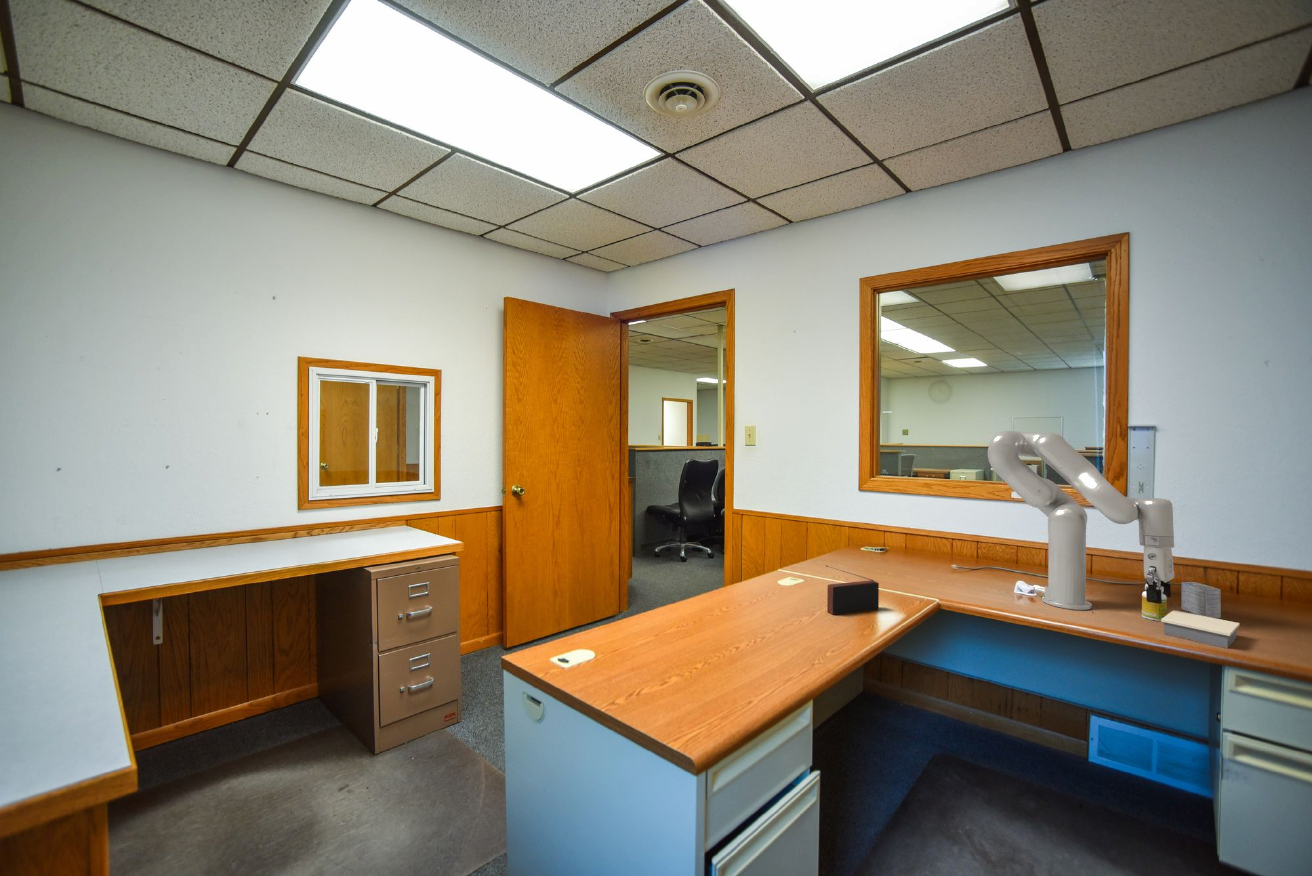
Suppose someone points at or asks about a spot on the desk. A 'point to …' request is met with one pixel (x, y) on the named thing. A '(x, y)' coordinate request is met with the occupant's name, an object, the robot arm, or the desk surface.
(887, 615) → the desk surface
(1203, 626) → the base block
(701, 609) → the desk surface
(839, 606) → the radio
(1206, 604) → the medicine box
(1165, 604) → the supplement bottle
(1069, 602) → the robot arm
